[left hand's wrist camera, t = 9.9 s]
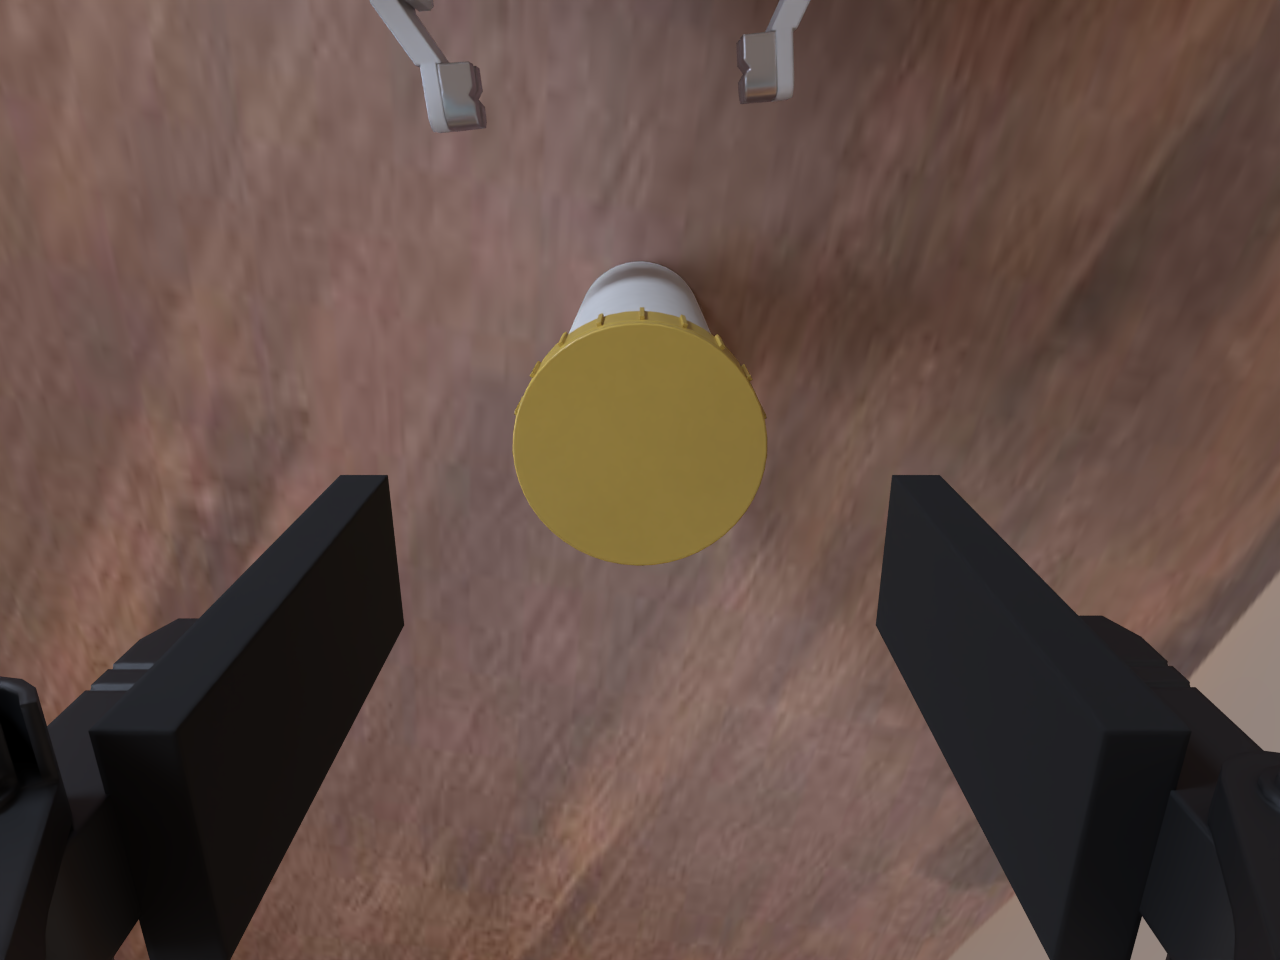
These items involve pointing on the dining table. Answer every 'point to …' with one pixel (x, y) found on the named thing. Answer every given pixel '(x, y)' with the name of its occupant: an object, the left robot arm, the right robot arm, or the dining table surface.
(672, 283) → the jar
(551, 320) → the dining table surface
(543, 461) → the lid
